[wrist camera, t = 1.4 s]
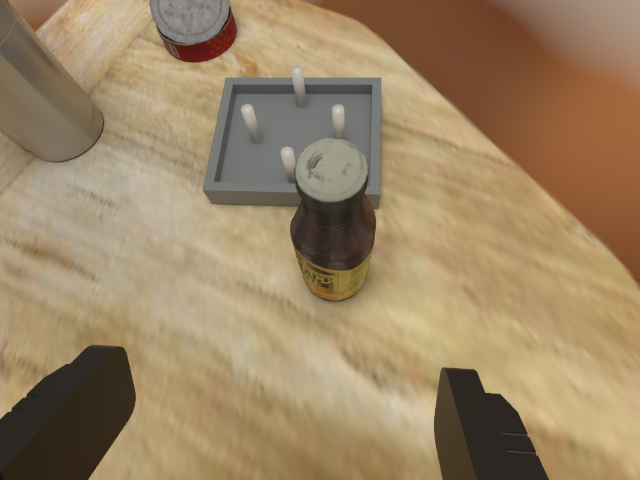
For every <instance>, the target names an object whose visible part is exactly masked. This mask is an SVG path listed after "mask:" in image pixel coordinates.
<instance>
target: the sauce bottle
mask: <svg viewBox="0 0 640 480" xmlns="http://www.w3.org/2000/svg"><path fill="white" fill-rule="evenodd" d="M368 174H369V173H368V163H367V160H366V158H365V156H364V154H363V153H362V152H361V151H360V150H359V149H358V148H357V147H356V146H355V145H354V144H352V143H350V142H348V141H346V140H343V139H333V138H326V139H322V140H318V141H316V142H314V143H312V144H310V145H309V146H307V147H306V148H305V149H304V150H303V151H302V152H301V153H300V155H299V156H298V159H297V161H296V165H295V169H294V177H295V178H294V179H295V187H296V189H297V192H298V194H299V196H300V197H301V199H302V200H301V202H300V205H299V207H298V209H297V211H296V213H295V215H294V217H293V219H292V221H291V225H290V234H291V239H292V242H293V245H294V249H295V252H296V256H297V259H298V262H299V265H300V268H301V271H302V274H303V278H304V280H305V282H306V284H307V286H308V287H309V288H310V290H311V291H312V292H314V293H315V294H316V295H318V296H320V297H322V298H323V299H325V300H328V301H330V300H333V301H334V300H338V301H339V300H343V299H347V298H350V297H352V296H353V295H354V294H355V293H356V292H357V291H358V290H359V289H360V288H361V287H362V286H363V284H364V281H365V279H366V275H367V271H368V267H369V262H370V258H371V254H372V249H373V245H374V239H375V230H376V217H375V212H374V210H373V206H372V204H371V203H370V200H369V199H368V197H367V196H366V194H365V191H366V189H367V184H368Z"/></svg>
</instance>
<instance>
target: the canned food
mask: <svg viewBox="0 0 640 480" xmlns="http://www.w3.org/2000/svg"><path fill="white" fill-rule="evenodd" d="M149 4H150V8H151V12H152V17H153V21H154V22H155V23H156V27H157V30H158V33H159V34H160V36H161V38H162V40H163V42H164V44H165V46H166V48H167V50H168V51H169V53H170V54H171V55H172V56H173V57H175V58H177V59H179V60H181V61H185V62H192V63H194V62H203V61H208V60H211V59H214V58H216V57H218V56H220V55H221V54H223V53H224V52H225V51H227V50H228V49H229V48H230V46H231V45H232V44H233V42H234V40H235V38H236V33H237V29H236V24H235V21H234V18H233V14H232V11H231V7H230V0H150V2H149Z"/></svg>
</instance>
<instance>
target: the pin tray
mask: <svg viewBox="0 0 640 480" xmlns="http://www.w3.org/2000/svg"><path fill="white" fill-rule="evenodd" d="M291 74H292V78H226V80H225V84H224V89H223V94H222V99H221V104H220V109H219V114H218V118H217V123H216V128H215V133H214V138H213V143H212V148H211V153H210V157H209V162H208V167H207V172H206V177H205V182H204V187H203V191H204V193H205V194H206V196H207V197H208V199H209V200H210V202H211V203H212V204H234V205H269V206H299V205H300V202H301V200H302V199H301V197H300V196H299V194H298V192H297V189H296V187H295V179H294V178H295V177H294V169H295V165H296V161H297V159H298V156H299V155H300V153H301V152H302V151H303V150H304V149H305V148H306V147H307V146H309V145H310V144H312V143H314V142H316V141H318V140H322V139H326V138H333V139H343V140H346V141H348V142H350V143H352V144H354V145H355V146H356V147H357V148H358V149H359V150H360V151H361V152H362V153H363V154H364V156H365V158H366V160H367V163H368V173H369V174H368V184H367V189H366V191H365V194H366V196H367V197H368V199H369V200H370V203H371V204H372V206H373V208H374V209H378V205H379V198H380V150H381V78H303V71H302V67H300V66H294V67H292V68H291Z"/></svg>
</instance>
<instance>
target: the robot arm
mask: <svg viewBox="0 0 640 480" xmlns="http://www.w3.org/2000/svg"><path fill="white" fill-rule="evenodd" d="M102 127H103V117H102V114H101V112H100V110H99V109H98V107H97V106H96V105H95V104H94V103H93V101H92V100H91V99H90V98H89V97H88V96H87V94H86V93H85V92H84V91H83V90H82V88H81V87H80V86H79V85H78V83H77V82H76V81H75V80H74V79H73V77H72V76H71V75H70V74H69V73H68V71H67V70H66V69H65V68H64V67H63V66H62V64H61V63H60V62H59V61H58V60H57V58H56V57H55V56H54V55H53V54H52V52H51V51H50V50H49V49H48V48H47V46H46V45H45V44H44V43H43V42H42V41H41V39H40V38H39V37H38V36H37V35H36V33H35V32H34V31H33V30H32V29H31V27H30V26H29V25H28V24H27V23H26V21H25V20H24V19H23V18H22V17H21V16H20V14H19V13H18V12H17V11H16V10H15V8H14V7H13V6H12V5H11V4H10V3H9V1H8V0H0V132H1V133H3V134H4V135H5V136H7V137H8V138H9V139H10V140H12V141H13V142H14V143H15V144H17V145H18V146H19V147H20V148H22V149H23V150H29V151H31V152H32V153H34V154H35V155H36V156H37V157H39V158H41V159H43V160H47V161H57V162H58V161H64V160H68V159H71V158H74V157H76V156H78V155H80V154H82V153H83V152H85V151H86V150H87V149H89V148H90V147H91V146H92V145H93V144H94V143H95V141H96V140H97V138H98V137H99V135H100V133H101V131H102ZM135 401H136V393H135V388H134V384H133V379H132V375H131V370H130V366H129V362H128V357H127V353H126V351H125V349H124V348H123V347H119V346H103V345H91V346H89V347H87V348H86V349H85V350H84V351H83V352H82V353H81V354H80V355H79V356H78V357H77V358H76V359H75V360H74V361H73V362H72V363H71V364H66V365H64V366H63V367H61V368H59V369H58V370H56V371H54V372H53V373H51V374H50V375H48V376H46V377H45V378H43V379H42V380H41V381H40V382H39V383H38V384H37V385H36V386H35V387H34V388H33V389H32V390H31V391H30V392H29V393H28V394H27V396H26V398H22V399H21V400H20V401H19V402H18V403H17V404H16V405H15V406H14V407H13V408H12V411H11V412H8V413H6V414H5V415H4V416H3V417H2V418H1V419H0V480H88V479H89V477H90V476H91V475H92V473H93V472H94V470H95V469H96V467H97V466H98V464H99V463H100V461H101V460H102V458H103V457H104V455H105V454H106V452H107V451H108V450H109V448H110V447H111V445H112V444H113V442H114V441H115V439H116V438H117V436H118V435H119V433H120V432H121V430H122V429H123V427H124V426H125V425H126V423H127V422H128V420H129V419H130V417H131V415H132V412H133V410H134V406H135ZM434 434H435V443H436V448H437V453H438V458H439V463H440V468H441V473H442V478H443V480H549V479H548V477H547V475H546V472H545V470H544V468H543V466H542V464H541V462H540V459H539V457H538V456H536V451H535V449H534V446H533V444H532V442H531V440H530V438H529V437H528V436H527V431H526V429H525V427H524V425H523V423H522V420H521V418H520V416H519V414H518V412H517V411H516V410H515V409H514V408H513V407H512V406H511V405H510V404H509V403H508V402H507V401H506V400H505V399H504V397H503V396H502V395H501V394H492V393H485V391H484V389H483V386H482V383H481V381H480V378H479V376H478V373H477V372H476V370H474V369H460V368H442V369H441V373H440V379H439V386H438V394H437V401H436V408H435V416H434Z"/></svg>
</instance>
